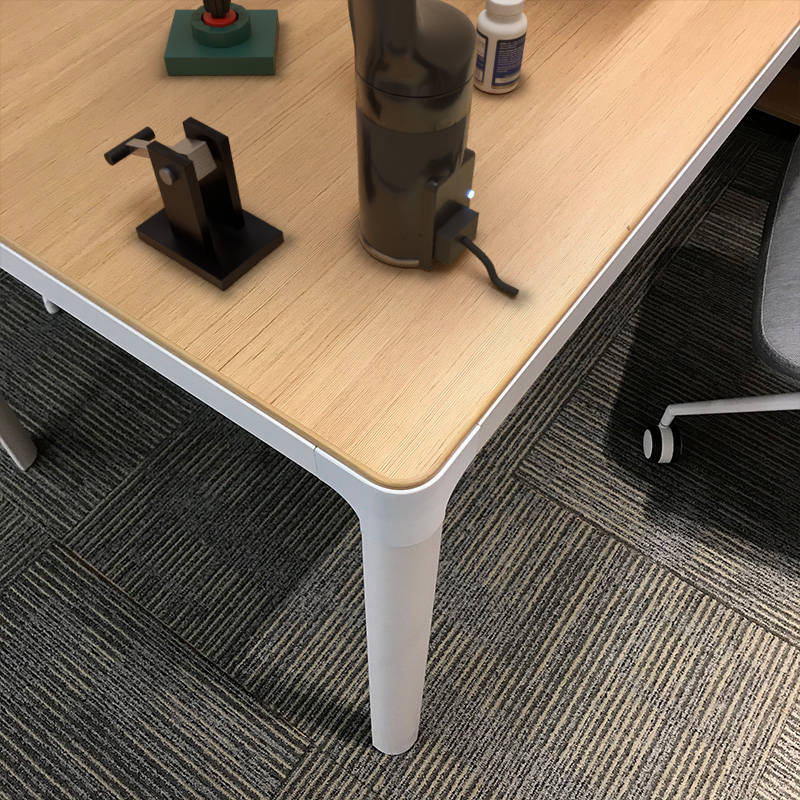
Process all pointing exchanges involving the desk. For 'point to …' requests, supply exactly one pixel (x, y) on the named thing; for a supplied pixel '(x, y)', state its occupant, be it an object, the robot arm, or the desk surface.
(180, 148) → the lever
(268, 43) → the control block
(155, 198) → the desk surface
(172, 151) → the black lever mount
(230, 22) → the button
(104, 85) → the desk surface
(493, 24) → the pill bottle
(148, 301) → the desk surface
